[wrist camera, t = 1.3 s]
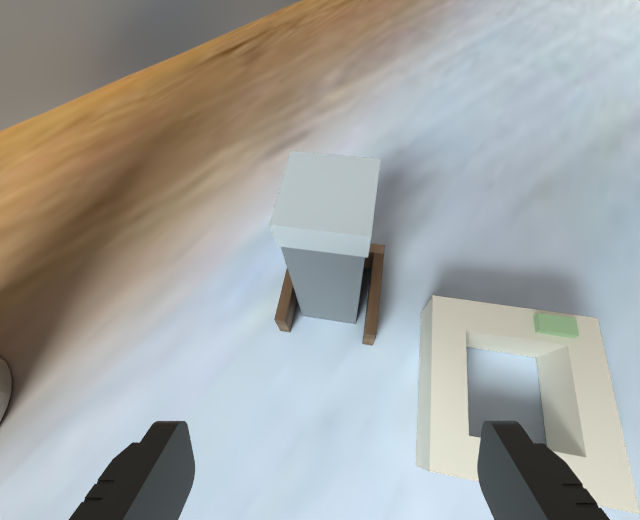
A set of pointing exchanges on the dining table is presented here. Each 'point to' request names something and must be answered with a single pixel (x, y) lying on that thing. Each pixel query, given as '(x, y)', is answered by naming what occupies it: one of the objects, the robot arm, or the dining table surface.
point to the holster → (376, 265)
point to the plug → (326, 229)
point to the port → (555, 387)
